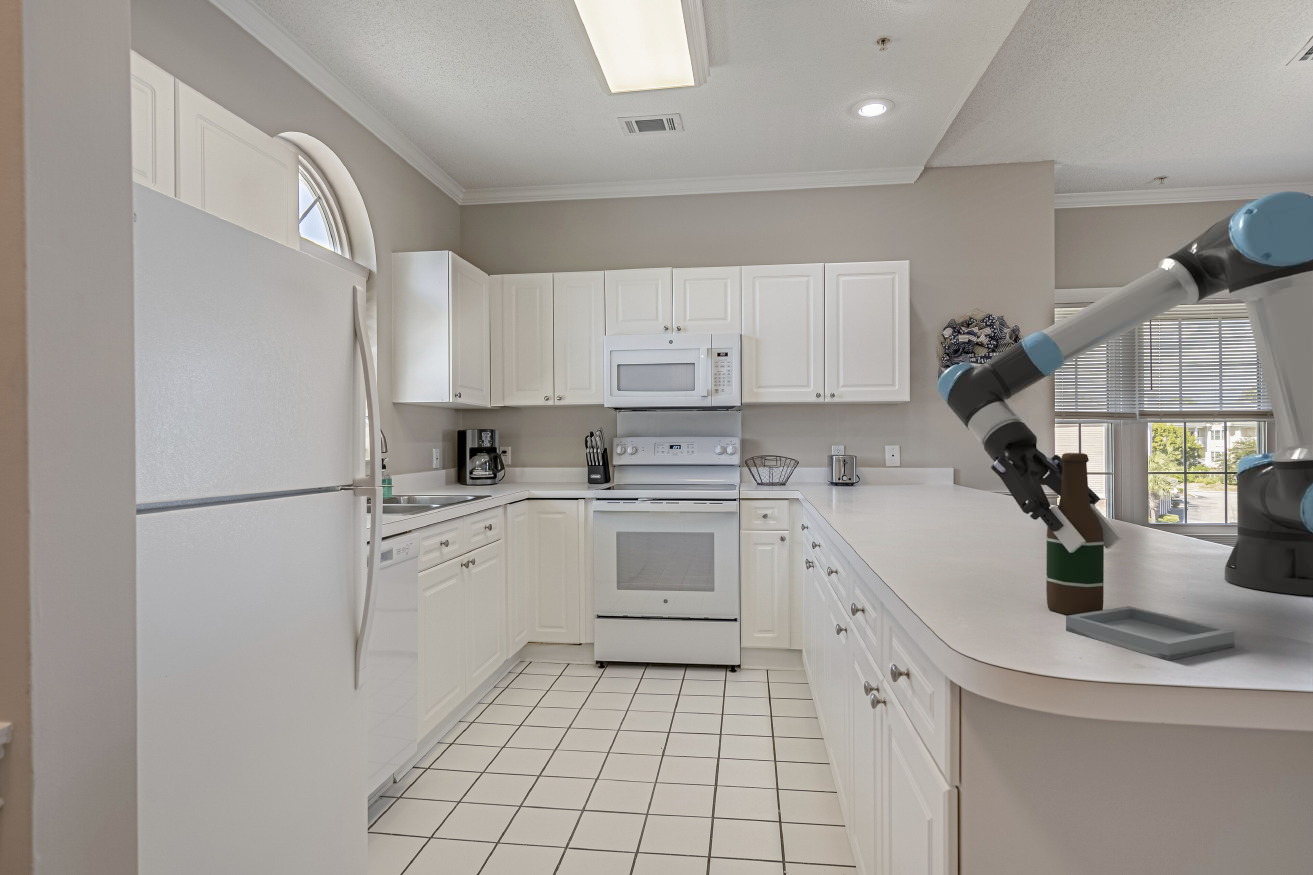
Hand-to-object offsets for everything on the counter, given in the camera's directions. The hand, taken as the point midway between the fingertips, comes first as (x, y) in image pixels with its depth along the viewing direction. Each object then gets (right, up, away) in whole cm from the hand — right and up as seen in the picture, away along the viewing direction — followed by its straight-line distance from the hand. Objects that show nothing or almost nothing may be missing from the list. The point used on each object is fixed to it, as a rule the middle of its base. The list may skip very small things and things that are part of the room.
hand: (1096, 544), depth 98 cm
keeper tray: (0, -11, -10) cm, 15 cm away
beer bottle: (-1, -11, +3) cm, 11 cm away
